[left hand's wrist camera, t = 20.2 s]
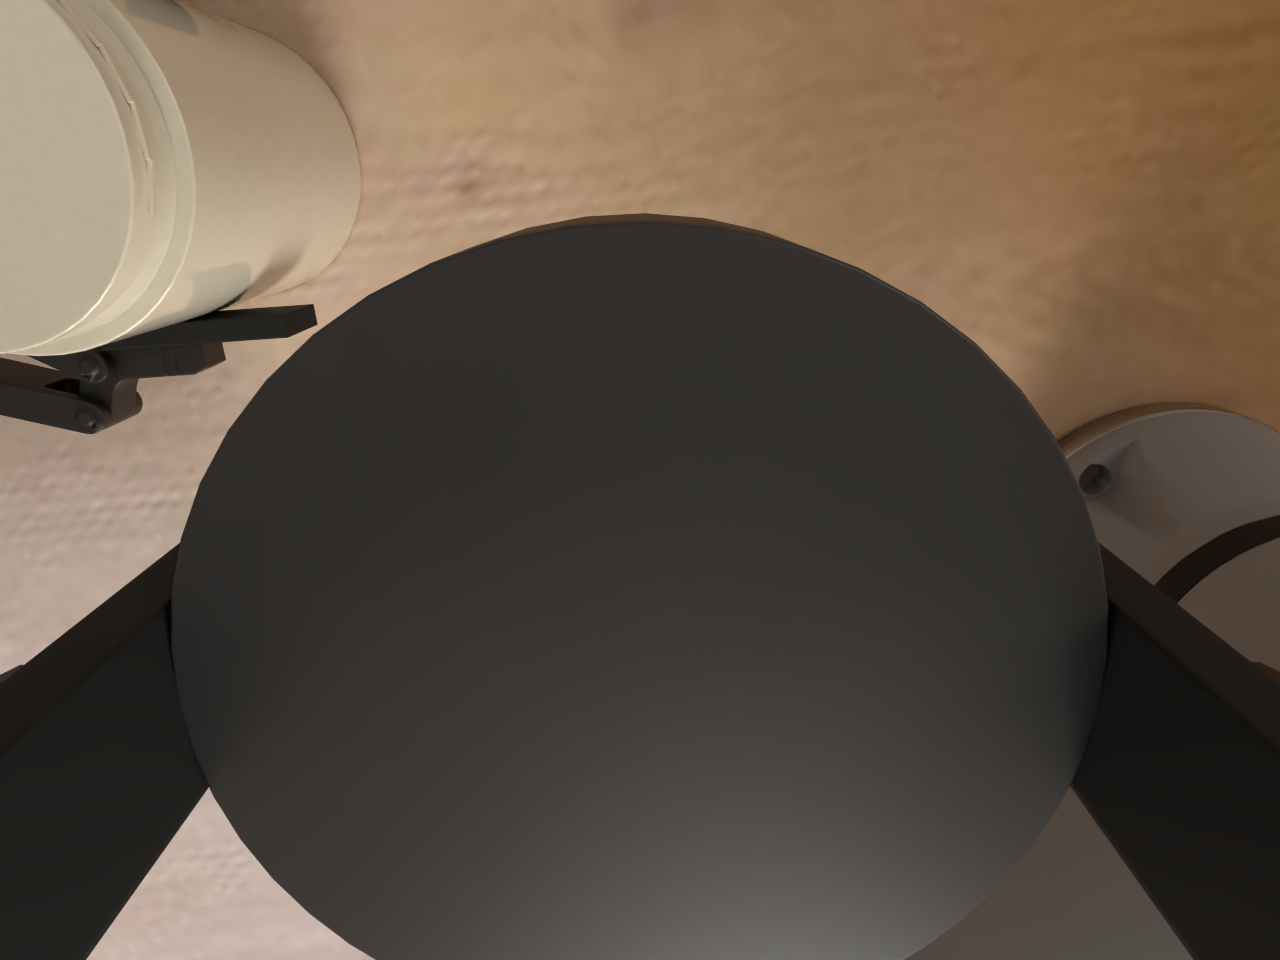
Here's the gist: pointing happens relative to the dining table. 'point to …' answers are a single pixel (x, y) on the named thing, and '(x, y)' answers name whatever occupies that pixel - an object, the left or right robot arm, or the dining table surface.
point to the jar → (157, 170)
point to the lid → (639, 608)
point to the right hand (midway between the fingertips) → (266, 152)
